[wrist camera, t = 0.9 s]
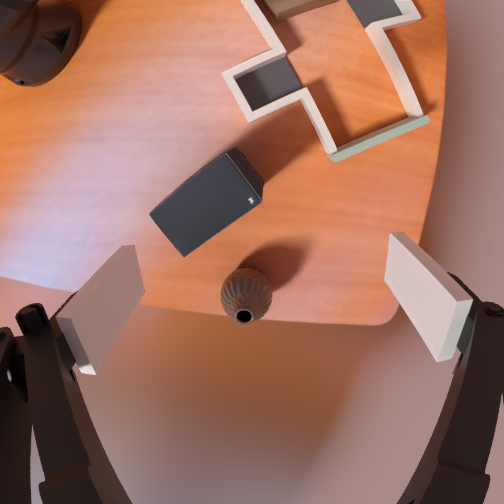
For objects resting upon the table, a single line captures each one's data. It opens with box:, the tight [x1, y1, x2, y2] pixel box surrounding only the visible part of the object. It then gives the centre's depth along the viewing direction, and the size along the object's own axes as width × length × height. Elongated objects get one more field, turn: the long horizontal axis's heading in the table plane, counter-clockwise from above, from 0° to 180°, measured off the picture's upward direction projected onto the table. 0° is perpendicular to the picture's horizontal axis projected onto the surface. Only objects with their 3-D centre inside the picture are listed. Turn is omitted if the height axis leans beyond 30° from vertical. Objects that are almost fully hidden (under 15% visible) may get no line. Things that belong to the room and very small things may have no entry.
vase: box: [221, 268, 272, 325], centre depth 41 cm, size 7×7×9 cm
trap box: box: [221, 0, 430, 163], centre depth 30 cm, size 28×28×4 cm
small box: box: [149, 147, 264, 257], centre depth 35 cm, size 11×6×10 cm, turn 126°
